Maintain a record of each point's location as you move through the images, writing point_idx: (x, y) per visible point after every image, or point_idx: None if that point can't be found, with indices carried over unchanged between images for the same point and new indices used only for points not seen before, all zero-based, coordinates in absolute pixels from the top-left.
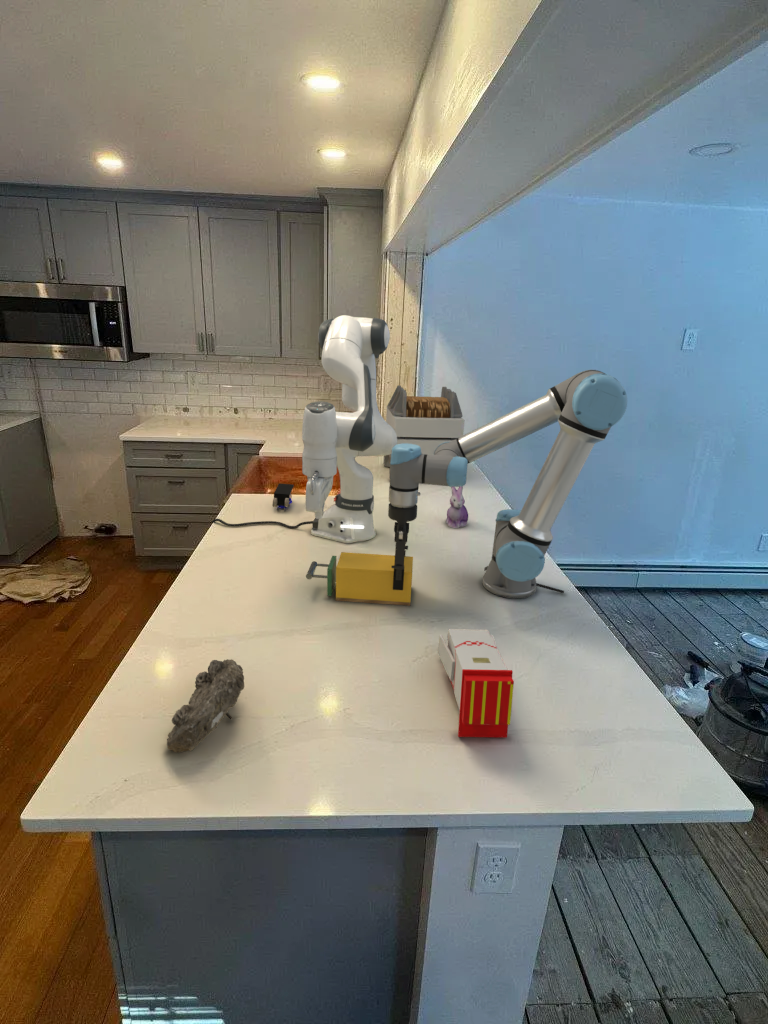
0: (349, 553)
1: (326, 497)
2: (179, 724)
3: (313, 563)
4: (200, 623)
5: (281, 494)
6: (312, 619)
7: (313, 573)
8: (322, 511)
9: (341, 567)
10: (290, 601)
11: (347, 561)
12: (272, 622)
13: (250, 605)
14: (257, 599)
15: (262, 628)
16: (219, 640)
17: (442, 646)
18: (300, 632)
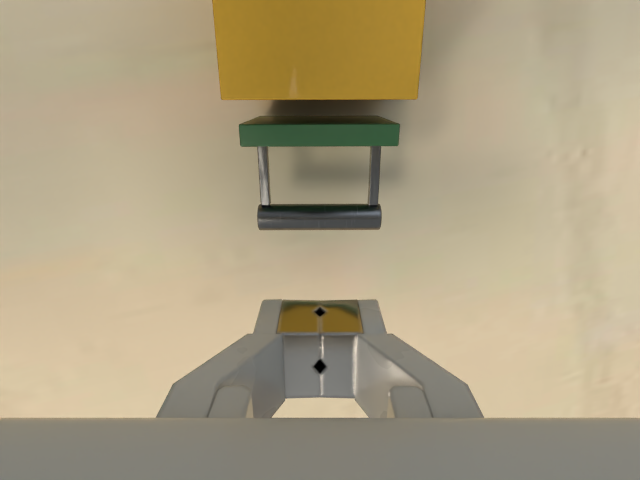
0: (229, 48)
1: (290, 454)
2: None
3: (281, 220)
4: (521, 413)
5: None
6: (513, 155)
7: (351, 204)
8: (329, 331)
9: (419, 69)
10: (402, 243)
11: (339, 45)
12: (525, 264)
13: (432, 338)
14: (397, 330)
15: (555, 281)
16: (602, 357)
17: None
18: (587, 177)
